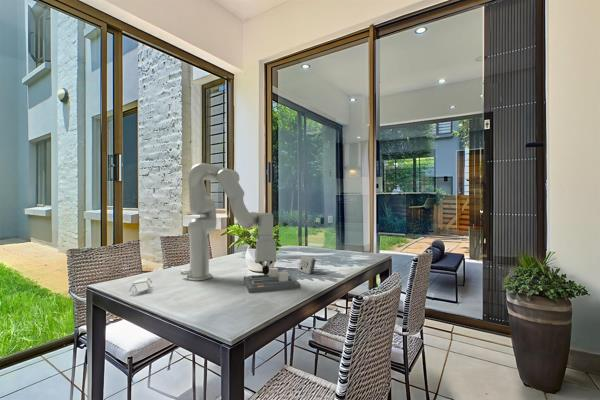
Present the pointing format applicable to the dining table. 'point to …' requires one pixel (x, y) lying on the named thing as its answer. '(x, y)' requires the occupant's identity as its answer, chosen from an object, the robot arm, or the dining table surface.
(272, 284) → the switch panel
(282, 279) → the tab front
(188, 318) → the dining table surface
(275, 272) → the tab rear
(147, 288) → the origami figure
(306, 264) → the electrical switch
